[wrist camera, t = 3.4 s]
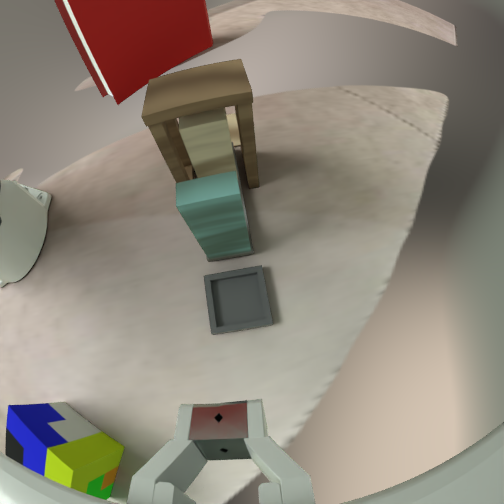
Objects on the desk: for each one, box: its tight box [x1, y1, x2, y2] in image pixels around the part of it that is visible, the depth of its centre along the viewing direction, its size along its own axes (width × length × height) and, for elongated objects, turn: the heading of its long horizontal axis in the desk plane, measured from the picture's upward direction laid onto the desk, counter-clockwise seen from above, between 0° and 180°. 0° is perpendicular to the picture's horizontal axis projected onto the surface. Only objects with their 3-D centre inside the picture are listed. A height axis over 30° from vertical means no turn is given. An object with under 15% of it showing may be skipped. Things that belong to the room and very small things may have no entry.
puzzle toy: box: [6, 402, 125, 500], centre depth 17 cm, size 10×10×10 cm
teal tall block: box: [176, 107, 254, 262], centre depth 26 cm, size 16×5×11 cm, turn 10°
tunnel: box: [142, 59, 259, 189], centre depth 27 cm, size 6×9×14 cm
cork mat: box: [226, 114, 241, 147], centre depth 36 cm, size 7×7×1 cm
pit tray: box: [204, 265, 273, 335], centre depth 27 cm, size 6×6×1 cm
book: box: [55, 0, 213, 104], centre depth 32 cm, size 27×8×32 cm, turn 139°
